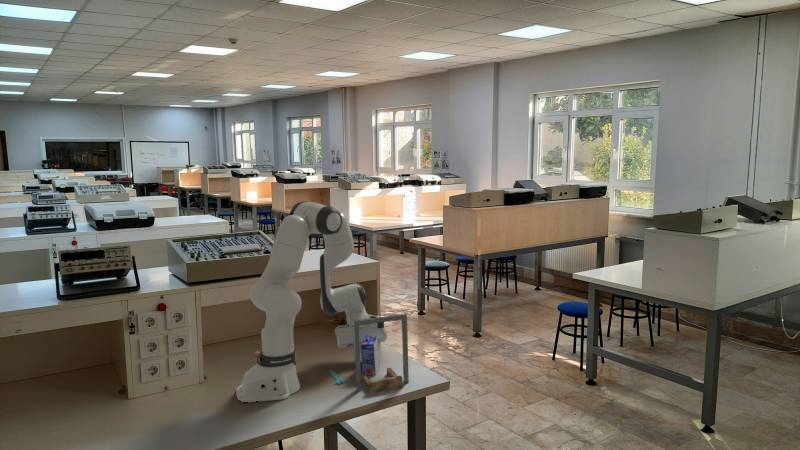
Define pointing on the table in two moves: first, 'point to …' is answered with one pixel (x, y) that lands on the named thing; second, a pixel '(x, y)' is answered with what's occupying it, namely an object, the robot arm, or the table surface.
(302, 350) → the table surface
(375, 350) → the ink cartridge box
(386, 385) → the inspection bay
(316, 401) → the table surface
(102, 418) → the table surface
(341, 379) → the adjustable wrench
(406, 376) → the scanner arch
